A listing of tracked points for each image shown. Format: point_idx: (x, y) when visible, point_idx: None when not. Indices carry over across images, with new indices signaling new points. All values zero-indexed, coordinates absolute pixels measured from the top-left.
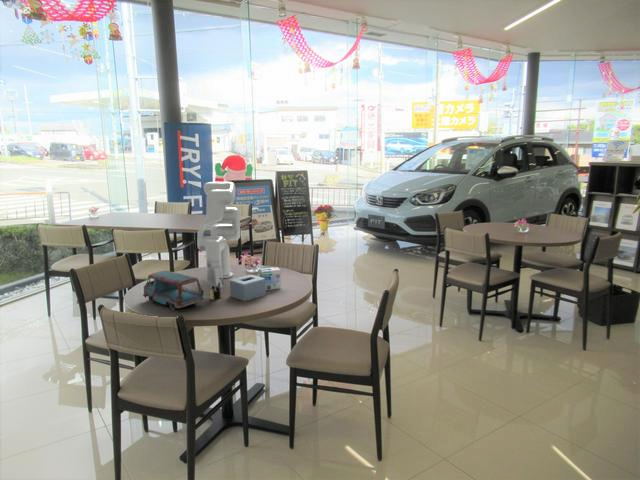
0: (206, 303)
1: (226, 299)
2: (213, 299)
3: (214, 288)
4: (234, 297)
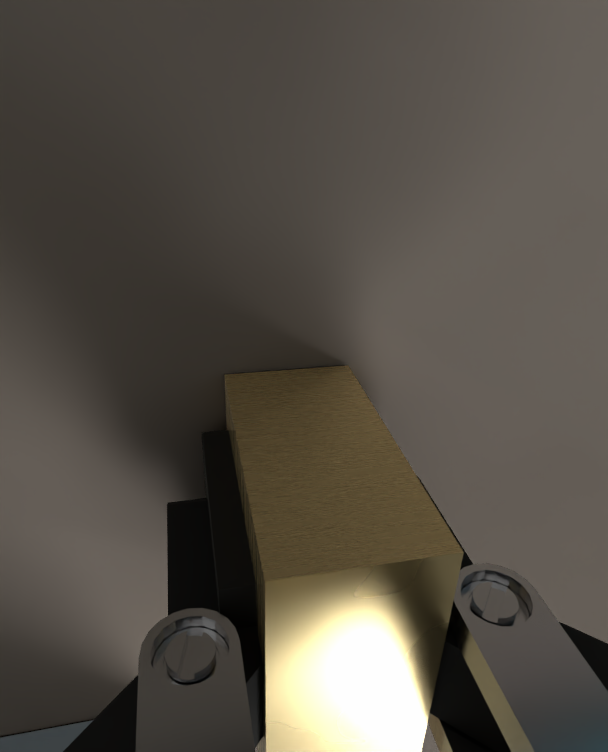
0: (41, 48)
1: (21, 604)
2: (226, 396)
3: (415, 697)
4: (15, 741)
